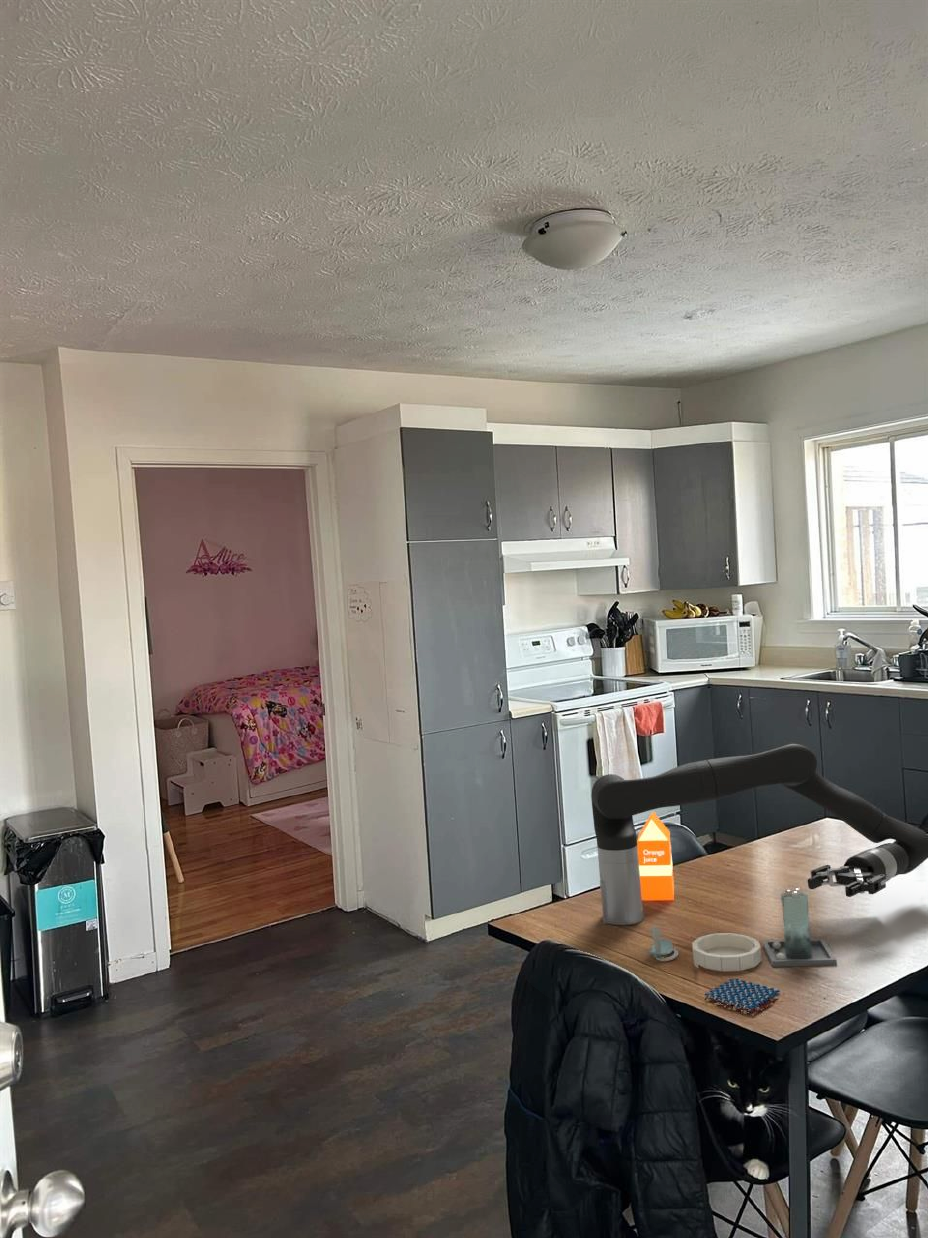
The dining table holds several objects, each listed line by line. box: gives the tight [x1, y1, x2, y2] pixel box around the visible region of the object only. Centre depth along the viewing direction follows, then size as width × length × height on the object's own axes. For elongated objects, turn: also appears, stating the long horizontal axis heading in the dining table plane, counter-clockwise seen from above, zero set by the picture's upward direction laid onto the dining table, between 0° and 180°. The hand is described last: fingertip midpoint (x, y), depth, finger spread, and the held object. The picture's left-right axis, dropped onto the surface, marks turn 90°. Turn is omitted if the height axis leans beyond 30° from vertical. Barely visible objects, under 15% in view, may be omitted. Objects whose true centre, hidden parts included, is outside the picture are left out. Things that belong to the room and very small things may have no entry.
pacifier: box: [644, 925, 679, 962], centre depth 198 cm, size 7×6×6 cm
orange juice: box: [637, 810, 675, 901], centre depth 238 cm, size 8×9×20 cm
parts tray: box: [762, 938, 838, 968], centre depth 191 cm, size 12×11×3 cm
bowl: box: [691, 932, 762, 972], centre depth 193 cm, size 13×13×4 cm
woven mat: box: [704, 978, 781, 1016], centre depth 175 cm, size 10×11×2 cm
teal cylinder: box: [780, 887, 812, 959], centre depth 191 cm, size 5×5×13 cm
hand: (828, 888), depth 198 cm, fingers open, 8 cm apart
